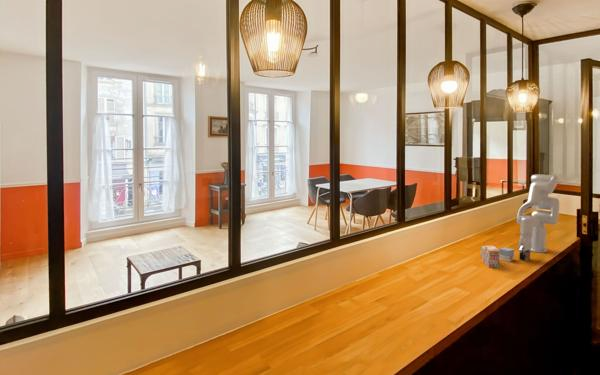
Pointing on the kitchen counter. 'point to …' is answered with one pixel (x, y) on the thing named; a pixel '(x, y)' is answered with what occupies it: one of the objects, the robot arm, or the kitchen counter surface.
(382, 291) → the kitchen counter surface
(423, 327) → the kitchen counter surface
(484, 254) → the stack of blocks
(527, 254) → the walnut block
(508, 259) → the tower base
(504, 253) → the tower top
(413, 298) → the kitchen counter surface
